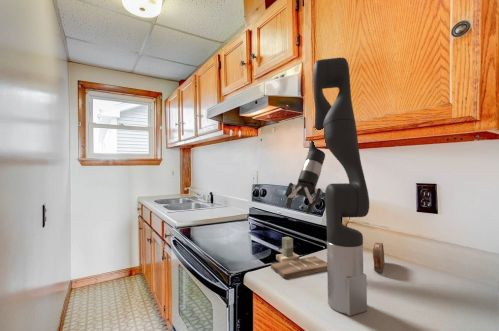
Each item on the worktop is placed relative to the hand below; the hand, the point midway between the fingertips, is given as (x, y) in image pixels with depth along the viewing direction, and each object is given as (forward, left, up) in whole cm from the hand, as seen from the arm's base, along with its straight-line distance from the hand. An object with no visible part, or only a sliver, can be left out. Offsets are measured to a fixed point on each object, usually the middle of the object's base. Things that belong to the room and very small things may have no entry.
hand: (297, 210), depth 99 cm
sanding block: (+5, +2, -21) cm, 22 cm away
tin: (-15, -25, -21) cm, 36 cm away
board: (-4, +2, -21) cm, 21 cm away
